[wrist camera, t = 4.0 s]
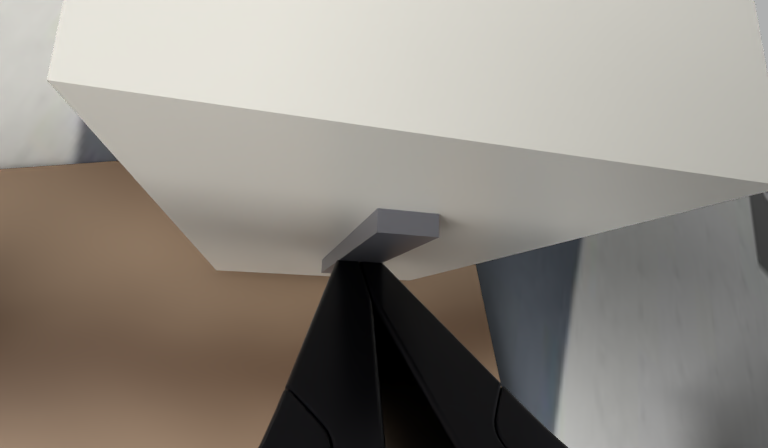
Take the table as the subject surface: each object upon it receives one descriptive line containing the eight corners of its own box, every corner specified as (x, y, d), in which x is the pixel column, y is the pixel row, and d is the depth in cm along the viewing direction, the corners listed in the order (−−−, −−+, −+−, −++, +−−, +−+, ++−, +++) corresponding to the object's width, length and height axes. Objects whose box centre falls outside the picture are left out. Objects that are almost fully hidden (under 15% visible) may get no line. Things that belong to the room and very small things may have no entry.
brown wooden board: (505, 472, 15) (521, 481, 14) (-782, 898, 8) (-925, 979, 7) (438, 147, 17) (448, 137, 16) (-648, 231, 10) (-747, 221, 9)
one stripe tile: (409, 289, 14) (792, 217, 4) (215, 280, 13) (36, 126, 3) (410, 221, 15) (755, 0, 5) (223, 204, 13) (101, -186, 3)
